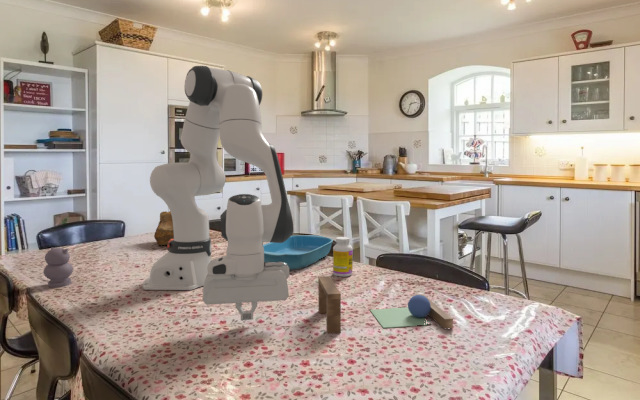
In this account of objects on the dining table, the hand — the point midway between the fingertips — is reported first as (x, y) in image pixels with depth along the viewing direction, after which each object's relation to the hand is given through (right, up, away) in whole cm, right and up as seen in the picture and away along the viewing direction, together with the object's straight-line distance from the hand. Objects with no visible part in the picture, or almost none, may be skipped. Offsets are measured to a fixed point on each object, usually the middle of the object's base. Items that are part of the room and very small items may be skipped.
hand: (247, 319), depth 103 cm
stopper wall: (+47, -1, +6) cm, 47 cm away
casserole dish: (+8, +5, +66) cm, 67 cm away
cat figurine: (-67, +1, +35) cm, 75 cm away
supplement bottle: (+25, +3, +44) cm, 51 cm away
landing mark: (+38, -1, +5) cm, 38 cm away
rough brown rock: (-51, +8, +97) cm, 110 cm away
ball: (+43, +2, +5) cm, 43 cm away
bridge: (+20, -1, +3) cm, 20 cm away
